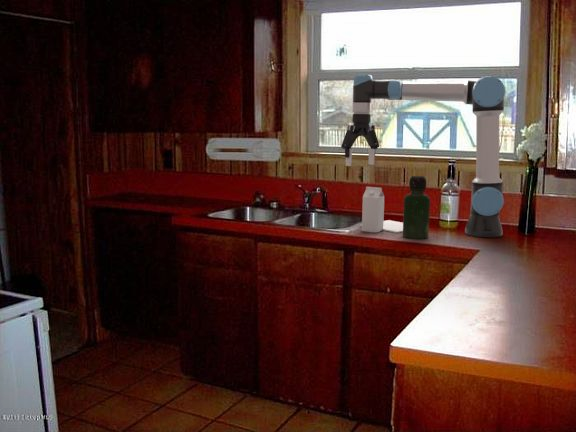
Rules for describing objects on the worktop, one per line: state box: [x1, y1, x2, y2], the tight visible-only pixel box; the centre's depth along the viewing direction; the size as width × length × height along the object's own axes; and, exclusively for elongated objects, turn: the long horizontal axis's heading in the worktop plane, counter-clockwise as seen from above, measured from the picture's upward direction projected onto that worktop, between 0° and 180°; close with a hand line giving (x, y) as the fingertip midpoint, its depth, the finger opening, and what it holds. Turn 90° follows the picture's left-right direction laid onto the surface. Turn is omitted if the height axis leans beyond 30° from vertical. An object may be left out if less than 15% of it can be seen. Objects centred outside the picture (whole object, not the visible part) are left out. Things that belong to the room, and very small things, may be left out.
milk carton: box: [361, 186, 385, 233], centre depth 269 cm, size 7×7×19 cm
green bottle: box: [402, 175, 431, 240], centre depth 256 cm, size 10×10×25 cm
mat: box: [359, 219, 403, 234], centre depth 280 cm, size 22×20×1 cm
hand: (360, 165), depth 261 cm, fingers open, 13 cm apart
